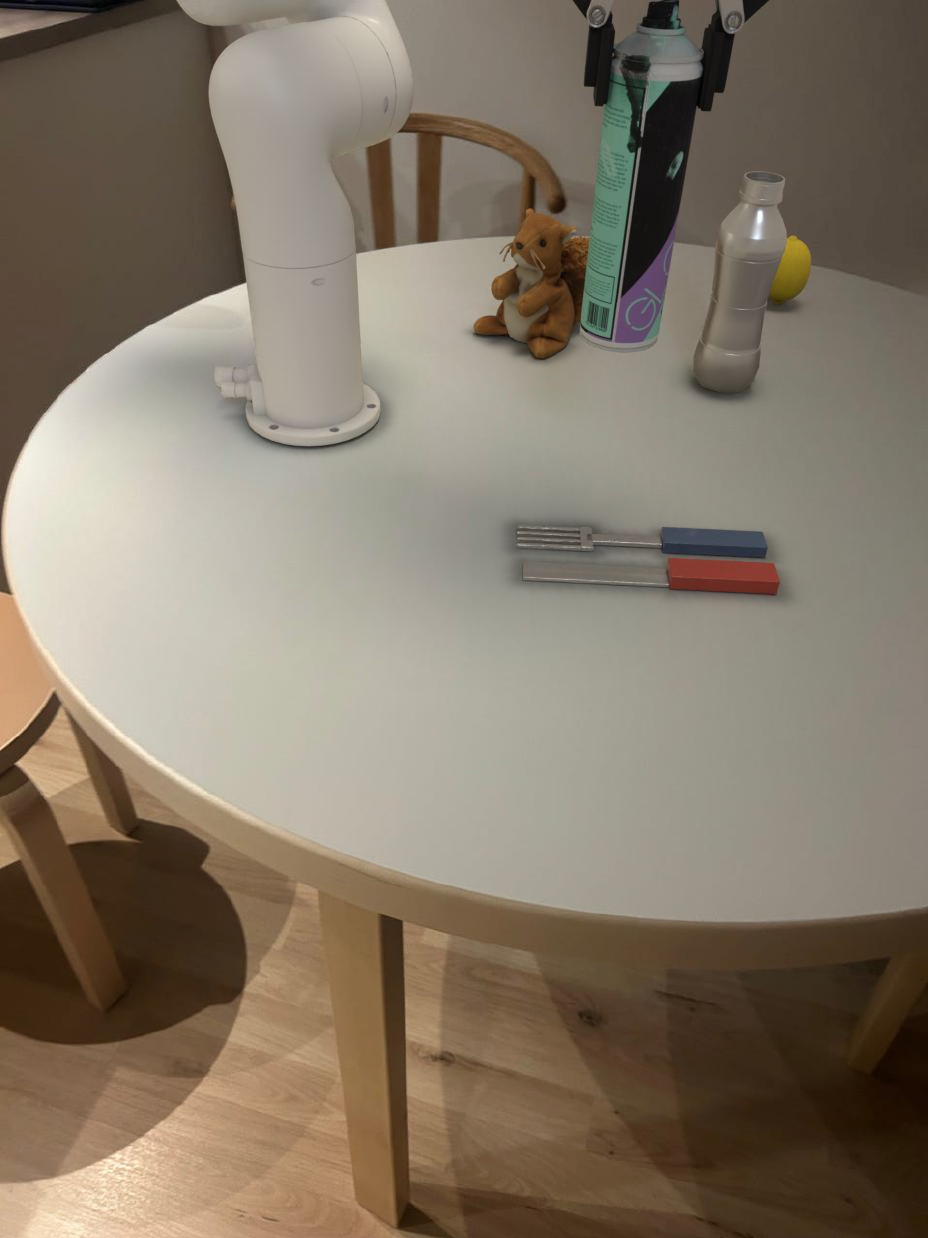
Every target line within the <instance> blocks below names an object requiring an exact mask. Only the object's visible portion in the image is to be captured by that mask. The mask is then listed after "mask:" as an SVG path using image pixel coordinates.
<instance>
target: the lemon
mask: <svg viewBox="0 0 928 1238" xmlns="http://www.w3.org/2000/svg"><path fill="white" fill-rule="evenodd" d="M811 271H812V255H811V251H810V249H809V248H808V246H807V244H806V243H805V242H803V241H802V240H801V239H798V237H797V236H796V235H790V236H789V237H787V244H786V248H785V251H784V254H783V256H782V259H781V262H780V265H779V267H778V270H777V273H776V275H775V278H774V281H773V284H772V287H771V291H770V295H769V298H768V299H771V300H772V301H773V304H775V305H781V304H783V303H784V302H786V301H787V302H788V301H790V300H793V299H794V298H796V297H797V296H799V295H800V294H801V293H802V292H803V290H804V289H805V288H806V286H807V283H808V281H809V278H810V275H811Z"/></svg>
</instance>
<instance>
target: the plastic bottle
mask: <svg viewBox="0 0 928 1238" xmlns="http://www.w3.org/2000/svg"><path fill="white" fill-rule="evenodd" d="M785 184H786V178H785V177H784V176H783V175H780V174H778V173H775V172H771V171H761V170H760V171H759V170H757V171H756V170H755V171H748V172H746V173H744V175H743V177H742V183H741V187H740V189H739V191H738V198H739V199H740V201H739V203H738V204H737V205H736V206H735V207H734V208H733V209H732V210H731V211H730V212H729V213H728V214H727V216H725V218H724V219H723V220H722V221H721V223H720V224H719V227H718V229H717V232H716V235H715V244H714V245H715V247H714V249H715V250H714V266H713V267H714V268H713V279H712V284H711V294H710V300H709V305H708V309H707V312H706V313H707V314H706V317H705V321H704V325H703V328H702V332H701V335H700V336H699V338H698V342H697V344H696V347H695V351H694V354H693V357H692V358H693V359H692V361H693V364H692V367H693V368H692V372H693V375H694V376H695V379H696V381H697V382H698V384H700V385H701V386H702V387H704V388H706V389H708V390H711V391H714V392H719V393H738V392H739V393H740V392H742V391H745V390H746V389H747V388H749V386H750V385H752V383H753V382H754V381H755V378H756V376H757V374H758V372H759V369H760V364H761V354H762V353H761V342H762V335H763V327H764V319H765V313H766V309H767V305H768V299H770V298H769V295H770V291H771V287H772V284H773V281H774V278H775V275H776V273H777V270H778V267H779V265H780V262H781V259H782V256H783V254H784V251H785V248H786V244H787V238H788V236H787V235H788V234H787V228H786V225H785V222H784V219H783V217H782V214H781V213H780V211H779V208H778V204H780V203H782V201H783V197H784V194H783V193H784V188H785Z"/></svg>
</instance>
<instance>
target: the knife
mask: <svg viewBox="0 0 928 1238" xmlns="http://www.w3.org/2000/svg"><path fill="white" fill-rule="evenodd" d="M522 581H532V582H534V581H535V582H552V583H571V584H572V583H573V584H574V583H575V584H591V585H593V584H594V585H615V586H630V587H631V586H632V587H633V586H634V587H650V588H651V587H653V588H655V587H656V588H669V589H670V590H682V591H683V590H684V591H705V592H706V591H707V592H726V593H745V594H763V595H764V594H766V595H777V593H778V590H779V587H780V585H781V581H780V578H779V574H778V572H777V568H776V566H775V563H774V562H763V561H745V560H744V561H742V560H741V561H740V560H723V559H722V560H721V559H703V558H702V559H701V558H683V557H682V558H681V557H668V559H667V564H666V567H664V568H663V567H646V566H645V567H643V566H625V565H624V566H623V565H603V564H586V563H585V564H584V563H583V564H581V563H562V562H545V561H543V562H541V561H522Z"/></svg>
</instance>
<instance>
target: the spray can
mask: <svg viewBox="0 0 928 1238" xmlns="http://www.w3.org/2000/svg"><path fill="white" fill-rule="evenodd" d="M679 10H680V0H658V1H655V0H654V1H649V2H648V6H647V11H646V12H647V13H646V16H643V17H642V19H641V22H638V23H637V24H636V27H635V29H636V31H633V32H632V33H631V34H629V35H628V36H626V37H625V38H623V39H622V40H621V41H618V42H615V43H614V48H613V57H612V65H611V74H610V83H609V92H608V101H607V104H604V106H603V115H602V125H601V133H600V142H599V150H598V160H597V169H596V179H595V186H594V187H595V188H594V196H593V205H592V215H591V223H590V224H591V225H590V232H589V238H590V240H589V249H588V258H587V267H586V276H585V285H584V294H583V303H582V312H581V321H579V337H580V338H581V340H582V341H583V342H585V344H587V345H588V346H591V347H593V348H596V349H599V350H602V351H607V352H612V353H618V354H619V353H620V354H629V353H639V352H644V351H647V350H649V349H651V348H652V347H654V346H655V345H656V344H657V342H658V337H659V335H660V334H659V333H660V328H661V322H662V318H663V317H662V316H663V311H664V305H665V300H666V299H665V298H666V292H667V287H668V280H669V274H670V270H671V269H670V268H671V262H672V258H673V257H672V256H673V252H674V251H673V250H674V245H675V239H676V233H677V228H678V227H677V226H678V221H679V215H680V210H681V203H682V198H683V190H684V187H685V179H686V173H687V167H688V161H689V156H690V150H691V143H692V137H693V132H694V126H695V119H696V114H697V109H698V107H697V102H698V96H699V90H700V84H701V78H702V72H703V66H702V64H701V59H702V58H703V55H704V51H703V50H702V49H701V48H702V47H699V46H697V44H696V43H695V42H694V40H692V39H691V38H690V37H689V36H688V35H687V34H685V33H686V32H687V31H686V30H687V27H686V26H685V25H684V24H681V23H682V20H681V18H680V17H679Z"/></svg>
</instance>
